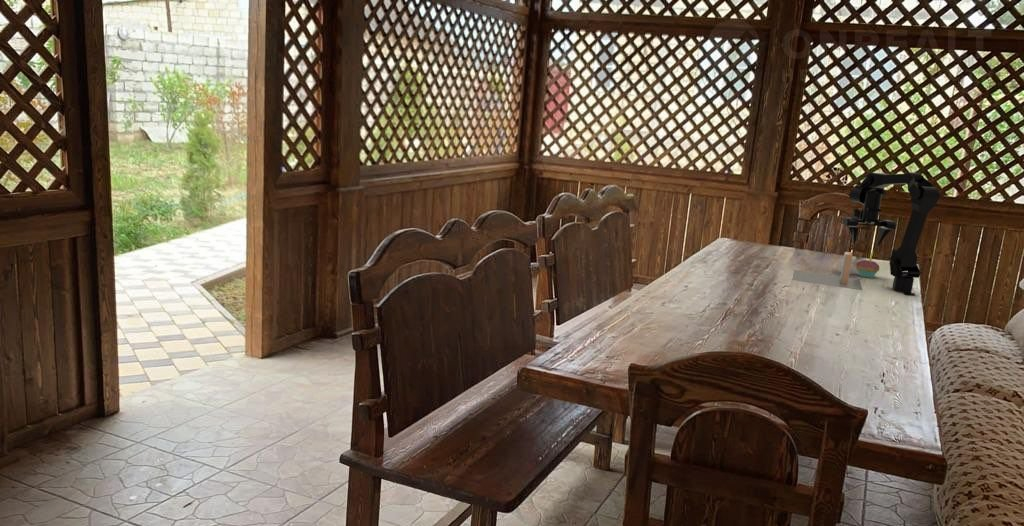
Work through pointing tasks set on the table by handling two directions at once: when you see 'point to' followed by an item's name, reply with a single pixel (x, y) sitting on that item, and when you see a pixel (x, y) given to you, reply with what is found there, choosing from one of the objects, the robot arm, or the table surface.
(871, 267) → the cupcake
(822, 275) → the board
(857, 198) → the robot arm
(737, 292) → the table surface
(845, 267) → the tile
